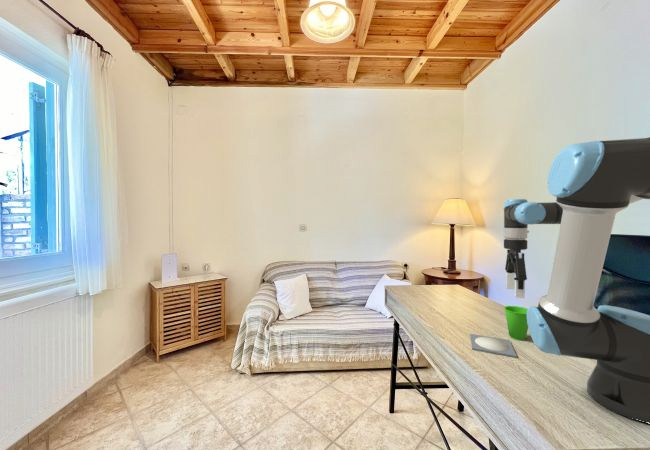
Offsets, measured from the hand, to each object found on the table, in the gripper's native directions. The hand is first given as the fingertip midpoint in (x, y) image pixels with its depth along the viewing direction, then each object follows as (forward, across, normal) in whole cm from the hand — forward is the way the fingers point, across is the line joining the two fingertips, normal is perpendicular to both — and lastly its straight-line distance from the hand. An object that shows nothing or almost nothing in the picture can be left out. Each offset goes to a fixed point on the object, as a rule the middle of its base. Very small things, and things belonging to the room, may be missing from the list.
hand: (514, 293), depth 104 cm
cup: (+17, 0, -1) cm, 17 cm away
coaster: (+17, -12, +10) cm, 23 cm away
